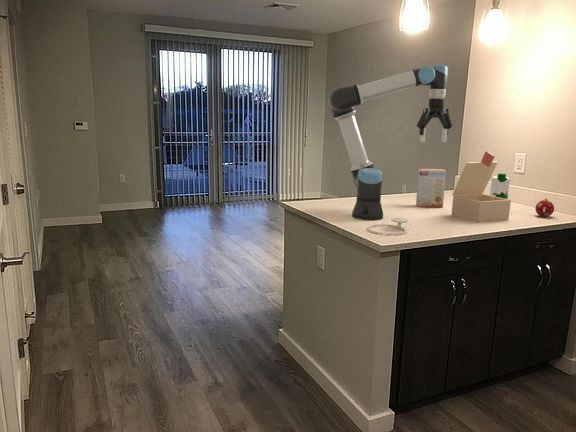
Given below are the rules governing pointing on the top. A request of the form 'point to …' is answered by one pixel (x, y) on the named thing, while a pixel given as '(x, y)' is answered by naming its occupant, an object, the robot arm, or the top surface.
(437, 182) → the cracker box
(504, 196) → the milk carton
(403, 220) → the hand towel holder
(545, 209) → the christmas ornament
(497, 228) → the top surface
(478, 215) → the carton
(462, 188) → the lid flap
